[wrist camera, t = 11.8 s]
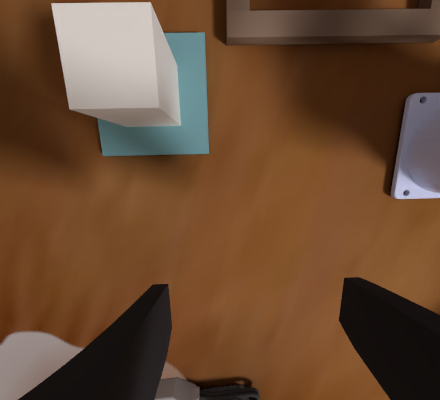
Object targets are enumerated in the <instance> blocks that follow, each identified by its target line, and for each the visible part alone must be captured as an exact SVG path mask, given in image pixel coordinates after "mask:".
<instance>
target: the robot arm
mask: <svg viewBox="0 0 440 400" xmlns="http://www.w3.org/2000/svg"><path fill="white" fill-rule="evenodd" d="M420 98H421V103H420ZM404 191H405V194H404V195H403V192H404ZM391 196H392V197H393V198H396V199H419V198H440V93H415V94H412V95H410V96H408V98H407V99H406V103H405V109H404V115H403V121H402V127H401V133H400V139H399V145H398V151H397V158H396V164H395V170H394V176H393V182H392V188H391ZM339 321H340V323H341V325H342V327H343V329H344V331H345V332H346V334H347V336H348V338H349V340H350V341H351V343H352V345H353V347H354V348H355V350H356V351H357V353H358V354H359V356H360V357H361V358H362V360H363V361H364V363H365V364H366V366H367V367H368V368H369V370H370V371H371V373H372V374H373V376H374V377H375V378H376V380H377V381H378V383H379V384H380V385H381V387H382V388H383V390H384V391H385V392H386V394H387V395H388V397H389V398H390V400H440V315H439V314H437V313H434V312H432V311H430V310H428V309H426V308H424V307H422V306H420V305H418V304H416V303H414V302H411V301H409V300H407V299H405V298H403V297H401V296H399V295H397V294H395V293H393V292H391V291H389V290H387V289H385V288H382V287H380V286H378V285H376V284H374V283H372V282H369V281H367V280H365V279H362V278H359V277H354V278H344V284H343V292H342V300H341V308H340V316H339ZM171 329H172V322H171V311H170V300H169V288H168V284H155V285H152V286H151V287H150V288H149V289H148V290H147V291H146V292H145V293H144V294H143V295H142V296H141V297H140V298H139V299H138V300H137V301H136V302H135V303H134V304H133V305H132V306H131V307H130V308H129V309H127V310H126V311H125V312H124V313H123V314H122V315H121V316H120V317H119V318H118V319H117V320H116V321H115V322H114V323H113V324H112V325H111V326H109V327H108V328H107V329H106V330H105V331H104V332H103V333H101V334H100V335H99V336H98V337H97V338H96V339H95V340H94V341H92V342H91V343H90V344H89V345H88V346H87V347H86V348H84V349H83V350H82V351H81V352H80V353H78V354H77V355H76V356H75V357H74V358H72V359H71V360H70V361H69V362H67V363H66V364H65V365H64V366H62V367H61V368H60V369H58V370H57V371H56V372H55V373H53V374H52V375H51V376H50V377H48V378H47V379H46V380H44V381H43V382H42V383H40V384H39V385H38V386H37V387H35V388H34V389H32V390H31V391H30V392H28V393H27V394H25V395H24V396H23V397H21V398H20V399H18V400H155V396H156V393H157V389H158V385H159V382H160V378H161V375H162V371H163V368H164V364H165V360H166V357H167V352H168V347H169V341H170V335H171Z"/></svg>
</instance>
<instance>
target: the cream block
mask: <svg viewBox="0 0 440 400" xmlns="http://www.w3.org/2000/svg"><path fill="white" fill-rule="evenodd" d="M51 5H52V11H53V16H54V22H55V28H56V34H57V40H58V45H59V51H60V57H61V63H62V69H63V74H64V80H65V86H66V92H67V97H68V103H69V109H70V110H73V111H77V112H80V113H83V114H86V115H89V116H93V117H96V118H99V119H102V120H106V121H109V122H112V123H115V124H118V125H122V126H125V127H150V126H181V119H180V103H179V87H178V71H177V64H176V61H175V59H174V57H173V54H172V52H171V49H170V47H169V45H168V42H167V40H166V38H165V35H164V33H163V31H162V28H161V26H160V23H159V21H158V19H157V16H156V14H155V12H154V9H153V7H152V5H151V2H136V3H51Z"/></svg>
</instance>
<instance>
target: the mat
mask: <svg viewBox="0 0 440 400" xmlns="http://www.w3.org/2000/svg"><path fill="white" fill-rule="evenodd" d="M164 35H165V38H166V40H167V42H168V45H169V47H170V49H171V52H172V54H173V57H174V59H175V61H176V64H177V71H178V87H179V103H180V119H181V126H150V127H125V126H122V125H118V124H115V123H112V122H109V121H106V120H102V119H99V118H97V119H98V126H99V133H100V140H101V147H102V154H103V156H131V155H174V154H209V141H208V112H207V83H206V53H205V33H164Z"/></svg>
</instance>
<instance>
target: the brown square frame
mask: <svg viewBox="0 0 440 400" xmlns="http://www.w3.org/2000/svg"><path fill="white" fill-rule="evenodd" d="M438 39H440V0H419V4H418V9H355V10H259V11H250V0H226V45H286V44H360V43H433V42H434V41H436V40H438Z"/></svg>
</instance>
